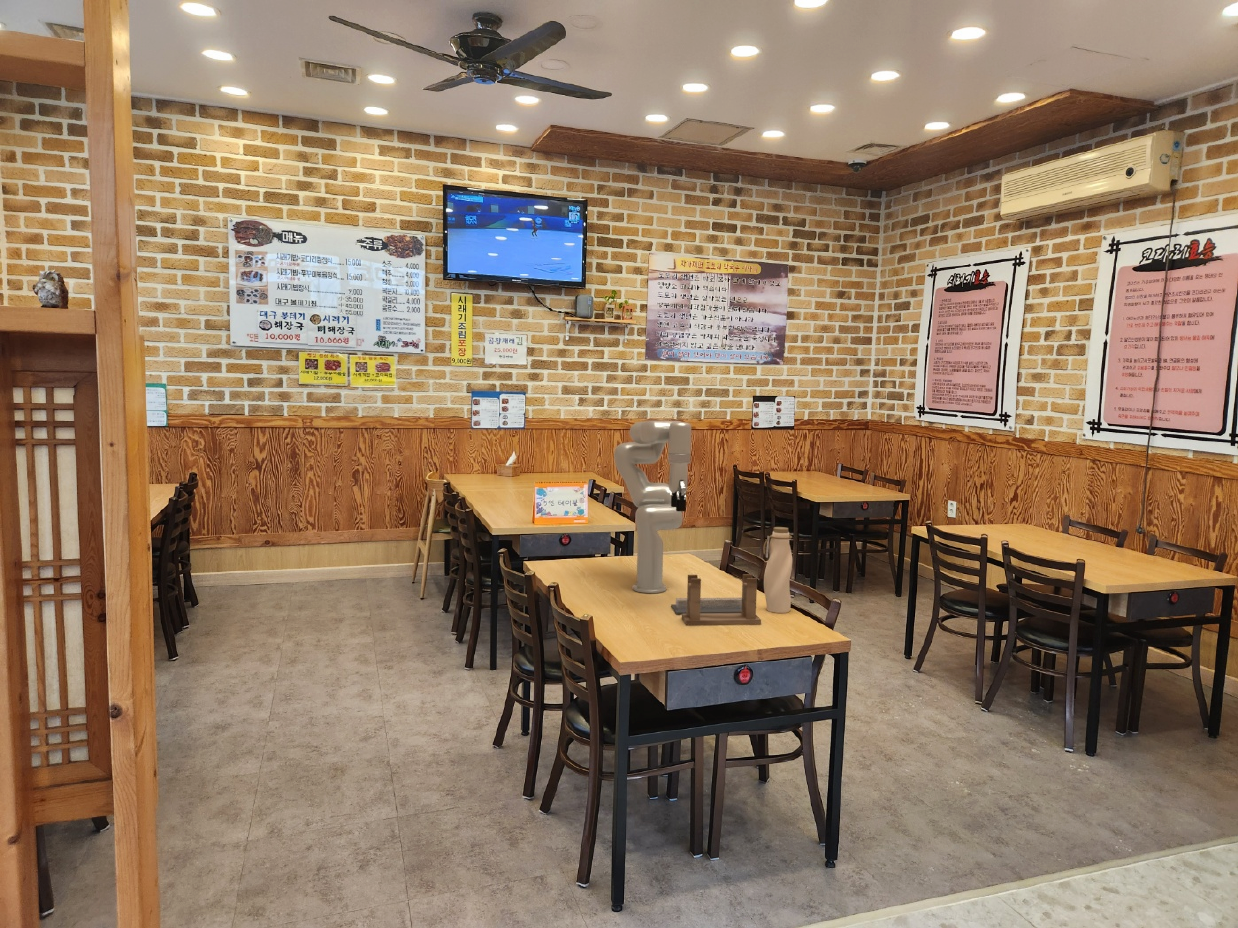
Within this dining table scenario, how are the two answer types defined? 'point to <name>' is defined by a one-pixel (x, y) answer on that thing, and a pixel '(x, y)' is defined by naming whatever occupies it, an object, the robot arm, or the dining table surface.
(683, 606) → the steel rail
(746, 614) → the walnut rack
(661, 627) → the dining table surface
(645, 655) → the dining table surface
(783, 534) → the water bottle
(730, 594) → the dining table surface
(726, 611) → the black mat
